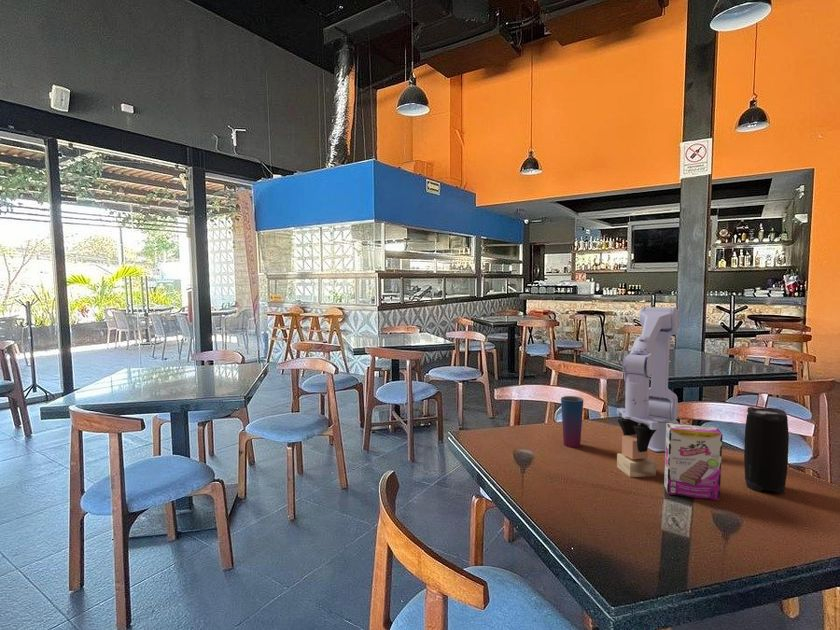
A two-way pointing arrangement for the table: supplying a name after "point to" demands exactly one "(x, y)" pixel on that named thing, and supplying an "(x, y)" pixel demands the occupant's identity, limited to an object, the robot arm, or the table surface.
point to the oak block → (636, 466)
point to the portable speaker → (766, 449)
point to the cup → (572, 420)
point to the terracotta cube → (632, 448)
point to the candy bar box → (693, 461)
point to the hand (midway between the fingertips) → (636, 448)
